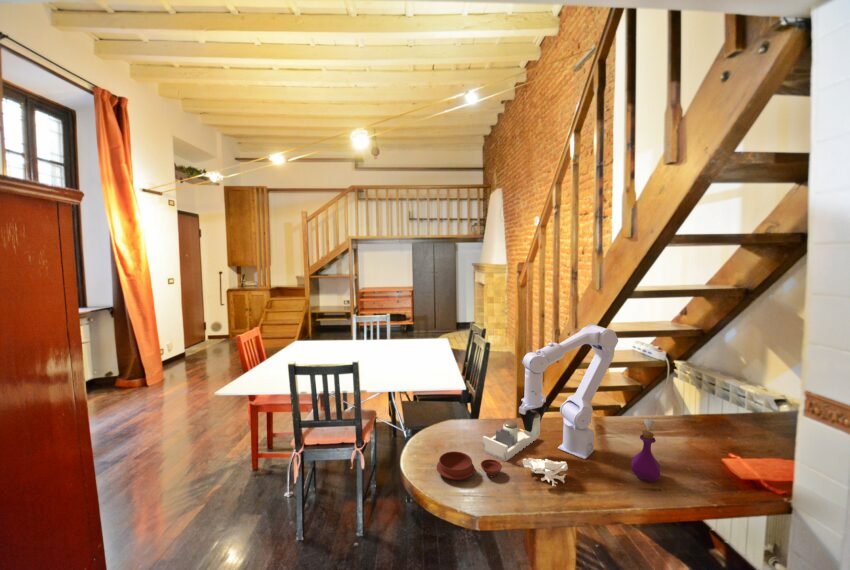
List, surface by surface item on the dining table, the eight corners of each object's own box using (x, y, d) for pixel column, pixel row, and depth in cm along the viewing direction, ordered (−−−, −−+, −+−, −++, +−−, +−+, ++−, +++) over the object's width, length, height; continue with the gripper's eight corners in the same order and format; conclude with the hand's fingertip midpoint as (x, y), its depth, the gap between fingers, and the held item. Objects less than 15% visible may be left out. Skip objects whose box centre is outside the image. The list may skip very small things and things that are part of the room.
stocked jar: (520, 442, 129) (520, 423, 129) (512, 448, 126) (513, 428, 125) (508, 437, 133) (508, 419, 132) (500, 442, 129) (500, 423, 129)
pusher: (513, 448, 125) (514, 432, 124) (512, 450, 124) (512, 433, 124) (497, 441, 130) (497, 426, 129) (495, 442, 129) (496, 427, 128)
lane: (537, 438, 134) (537, 425, 134) (505, 461, 119) (506, 447, 119) (515, 430, 140) (515, 417, 140) (482, 450, 126) (482, 436, 125)
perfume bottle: (659, 487, 106) (663, 428, 105) (630, 479, 110) (633, 421, 109) (659, 474, 113) (663, 418, 111) (631, 466, 117) (634, 412, 115)
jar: (542, 433, 124) (543, 413, 123) (535, 438, 120) (535, 418, 119) (529, 428, 127) (529, 408, 126) (521, 433, 124) (522, 413, 123)
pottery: (436, 462, 119) (436, 449, 118) (498, 463, 118) (498, 450, 118) (436, 485, 107) (436, 471, 107) (505, 486, 107) (505, 472, 106)
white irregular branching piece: (576, 464, 108) (545, 465, 103) (575, 489, 107) (544, 491, 102) (547, 451, 119) (518, 452, 114) (546, 473, 118) (516, 475, 113)
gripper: (533, 380, 130) (532, 417, 131) (511, 391, 120) (510, 431, 121) (552, 385, 125) (550, 423, 126) (530, 397, 115) (529, 438, 116)
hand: (532, 428), depth 123 cm, fingers closed on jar, 5 cm apart
